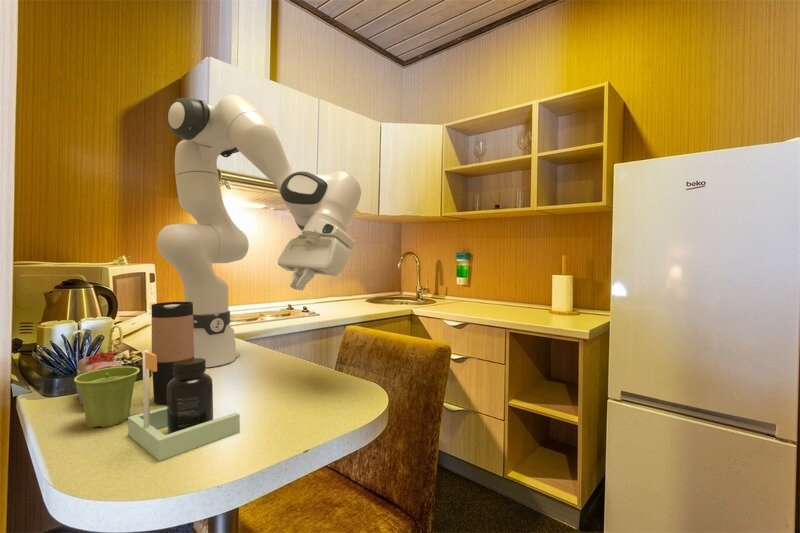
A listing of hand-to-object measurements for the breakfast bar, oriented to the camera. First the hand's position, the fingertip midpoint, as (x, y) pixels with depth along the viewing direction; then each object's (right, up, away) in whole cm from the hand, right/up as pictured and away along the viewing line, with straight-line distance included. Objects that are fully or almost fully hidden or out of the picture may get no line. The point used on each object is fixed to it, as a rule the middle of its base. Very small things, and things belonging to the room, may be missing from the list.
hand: (295, 288), depth 85 cm
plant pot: (-30, -23, -15) cm, 41 cm away
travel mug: (-25, -23, -4) cm, 34 cm away
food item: (-40, -23, -4) cm, 46 cm away
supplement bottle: (-13, -23, -19) cm, 33 cm away
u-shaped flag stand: (-13, -23, -19) cm, 33 cm away
